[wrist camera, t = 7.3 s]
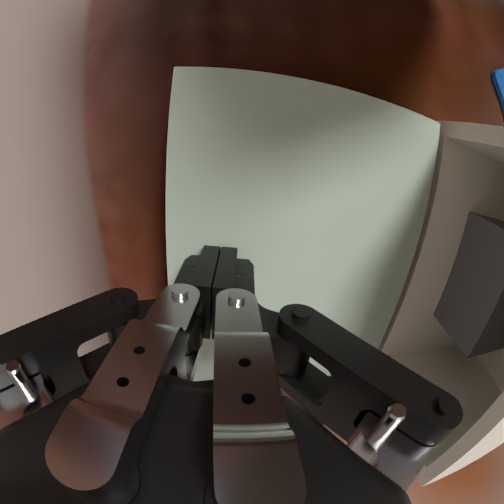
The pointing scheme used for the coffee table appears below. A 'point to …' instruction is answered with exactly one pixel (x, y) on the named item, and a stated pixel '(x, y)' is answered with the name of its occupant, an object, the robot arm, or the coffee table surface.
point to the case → (459, 294)
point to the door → (298, 191)
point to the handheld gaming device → (499, 84)
